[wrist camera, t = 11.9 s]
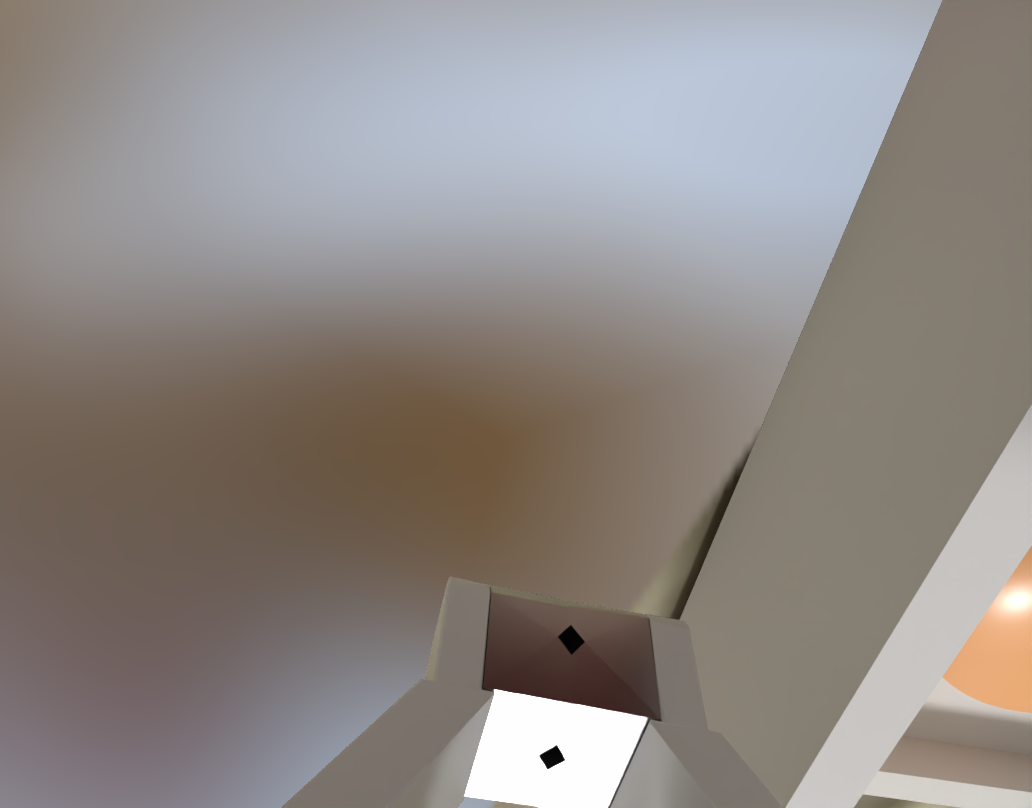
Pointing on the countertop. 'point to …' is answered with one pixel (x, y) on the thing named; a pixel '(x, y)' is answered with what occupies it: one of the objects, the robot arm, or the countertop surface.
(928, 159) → the white drawer
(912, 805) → the countertop surface
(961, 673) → the peach hemisphere
